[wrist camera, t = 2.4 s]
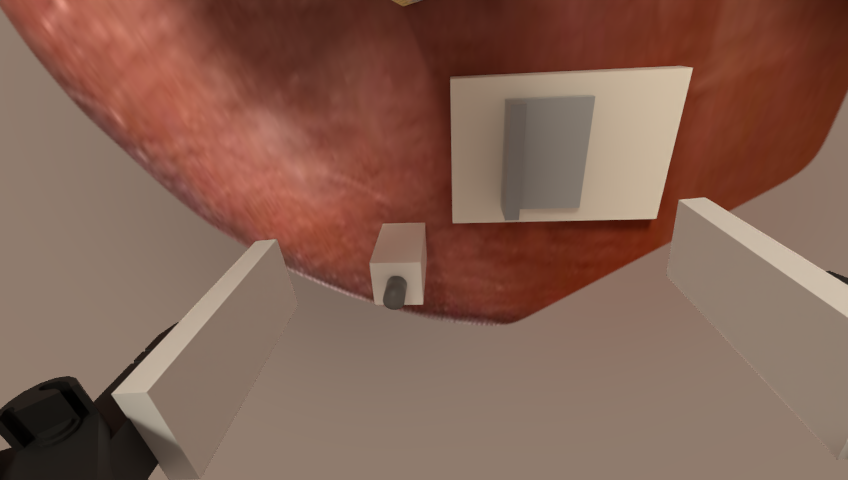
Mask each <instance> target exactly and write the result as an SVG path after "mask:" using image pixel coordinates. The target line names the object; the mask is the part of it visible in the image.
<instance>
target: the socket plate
mask: <svg viewBox="0 0 848 480" xmlns="http://www.w3.org/2000/svg"><path fill="white" fill-rule="evenodd" d="M692 70H693V68H691V67H684V66H668V67H647V68H625V69H604V70H582V71H561V72H539V73H518V74H496V75H475V76H453V77H450V102H451V164H452V221H453V223H492V222H537V221H583V220H628V219H656V218H657V214H658V210H659V205H660V201H661V197H662V193H663V189H664V185H665V181H666V177H667V172H668V168H669V164H670V160H671V156H672V152H673V148H674V144H675V140H676V135H677V131H678V127H679V123H680V119H681V115H682V111H683V107H684V103H685V98H686V94H687V90H688V86H689V82H690V78H691V74H692ZM579 95H593V96H595V103H594V110H593V117H592V124H591V131H590V138H589V145H588V152H587V158H586V165H585V172H584V179H583V186H582V193H581V200H580V207H579V208H550V209H520V213H519V220H506V221H505V219H504V216H503V213H502V210H501V206H500V205H501V183H502V160H503V138H504V115H505V99H509V98H532V97H556V96H579Z"/></svg>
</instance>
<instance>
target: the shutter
mask: <svg viewBox="0 0 848 480" xmlns="http://www.w3.org/2000/svg"><path fill="white" fill-rule="evenodd" d="M594 103H595V96H593V95H579V96H556V97H532V98H509V99H505V115H504V138H503V160H502V183H501V205H500V206H501V210H502V213H503V216H504V219H505V221H506V220H519V213H520V209H550V208H579V207H580V200H581V193H582V186H583V179H584V172H585V165H586V158H587V152H588V145H589V138H590V131H591V124H592V117H593V110H594Z"/></svg>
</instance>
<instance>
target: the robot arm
mask: <svg viewBox="0 0 848 480" xmlns="http://www.w3.org/2000/svg"><path fill="white" fill-rule="evenodd" d="M666 276H667V277H668V278H669V279H670V280H671V281H672V282H673V283H674V284H675V285H676V286H677V287H678V288H679V290H680V291H681V292H682V293H683V294H684V295H685V296H686V297H687V298H688V299H689V300H690V301H691V303H692V304H693V305H694V306H695V307H696V308H697V309H698V310H699V311H700V312H701V313H702V314H703V315H704V317H705V318H706V319H707V320H708V321H709V322H710V323H711V324H712V325H713V326H714V327H715V328H716V329H717V331H718V332H719V333H720V334H721V335H722V336H723V337H724V338H725V339H726V340H727V341H728V342H729V343H730V345H731V346H732V347H733V348H734V349H735V350H736V351H737V352H738V353H739V354H740V355H741V356H742V358H743V359H744V360H745V361H746V362H747V363H748V364H749V365H750V366H751V367H752V368H753V369H754V370H755V372H757V374H758V375H759V376H760V377H761V378H762V379H763V380H764V381H765V382H766V383H767V384H768V385H769V387H770V388H771V389H772V390H773V391H774V392H775V393H776V394H777V395H778V396H779V397H780V399H781V400H782V401H783V402H784V403H785V404H786V405H787V406H788V407H789V408H790V409H791V410H792V411H793V413H794V414H795V415H796V416H797V417H798V418H799V419H800V420H801V421H802V422H803V423H804V424H805V426H806V427H807V428H808V429H809V430H810V431H811V432H812V433H813V434H814V435H815V436H816V437H817V438H818V439H819V441H820V442H821V443H822V444H823V445H824V446H825V447H826V448H827V449H828V450H829V451H830V452H831V454H832V455H833V456H834V457H835V458H836V459H848V278H846V277H844V276H841V275H839V274H836V273H833V272H831V271H824V270H822V269H820V268H819V267H817V266H816V265H814V264H812V263H811V262H809V261H808V260H806V259H804V258H803V257H801V256H800V255H798V254H796V253H795V252H793V251H791V250H790V249H788V248H787V247H785V246H783V245H782V244H780V243H778V242H777V241H775V240H773V239H772V238H770V237H769V236H767V235H765V234H764V233H762V232H761V231H759V230H757V229H755V228H754V227H752V226H751V225H749V224H748V223H746V222H744V221H742V220H741V219H739V218H738V217H736V216H734V215H733V214H731V213H730V212H728V211H726V210H725V209H723V208H721V207H720V206H718V205H717V204H715V203H713V202H712V201H710V200H708V199H707V198H694V199H684V200H679V202H678V208H677V214H676V220H675V226H674V232H673V238H672V244H671V250H670V256H669V262H668V268H667V274H666ZM297 306H298V301H297V298H296V296H295V292H294V289H293V287H292V283H291V280H290V277H289V275H288V271H287V268H286V265H285V262H284V259H283V256H282V253H281V250H280V247H279V244H278V241H277V239H273V240H263V241H255V243H254V244H253V245H252V246H251V247H250V248H249V249H248V250H247V251H246V252H245V253H244V254H243V256H241V257H240V258H239V260H238V261H237V262H236V263H235V264H234V265H233V266H232V267H231V268H230V269H229V270H228V271H227V272H226V273H225V274H224V275H223V277H222V278H221V279H220V280H219V281H218V282H217V283H216V284H215V285H214V286H213V287H212V288H211V289H210V290H209V291H208V292H207V293H206V294H205V295H204V297H203V298H202V299H201V300H200V301H199V302H198V303H197V304H196V305H195V306H194V307H193V308H192V309H191V310H190V311H189V312H188V314H187V315H186V316H185V317H184V318H183V319H182V320H181V321H180V322H177V323H176V324H174V325H173V326H171V327H170V328H168V329H167V330H165V331H164V332H162V333H161V334H159V335H158V337H156V338H155V340H153V341H152V343H151V344H150V345H149V346H148V347H147V348H146V349H145V352H142V353H141V354H140V355H139V356H138V357H137V358H136V359H135V360H134V363H133V364H130V365H129V366H128V367H127V368H126V369H125V370H124V371H123V373H121V374H120V376H118V378H117V379H116V380H115V381H114V382H113V383H112V384H111V385H110V386H109V387H108V388H107V389H106V390H105V391H104V392H103V393H102V394H101V395H100V396H99V397H98V398H97V399H96V400H95V401H94V402H93V401H92V400H91V399H90V397H89V396H88V394H87V393H86V391H85V390H84V389H83V387H82V386H81V384H80V383H79V382H78V380H77V379H76V378H74V377H70V376H66V377H59V378H54V379H51V380H48V381H45V382H43V383H40V384H38V385H36V386H34V387H32V388H30V389H28V390H26V391H24V392H23V393H21V394H20V395H18V396H17V397H15V398H14V399H12V400H11V401H9V402H8V403H7V404H6V405H5V406H4V407H2V408H1V409H0V435H1V436H2V437H3V438H4V439H5V440H6V441H7V442H8V443H9V445H10V446H11V447H12V448H9V449H5V450H2V451H0V480H148V478H149V476H150V475H151V473H152V472H153V470H154V469H155V467H156V466H157V464H159V466H160V467H161V469H162V470H163V471H164V473H165V475H166V476H167V477H168V479H169V480H190V479H201V477H202V475H203V474H204V472H205V470H206V468H207V466H208V465H209V463H210V461H211V459H212V458H213V456H214V454H215V452H216V450H217V449H218V447H219V445H220V443H221V441H222V440H223V438H224V436H225V434H226V432H227V431H228V429H229V427H230V425H231V424H232V422H233V420H234V418H235V416H236V415H237V413H238V411H239V409H240V408H241V406H242V404H243V402H244V400H245V398H246V397H247V395H248V393H249V391H250V389H251V388H252V386H253V384H254V382H255V381H256V379H257V377H258V375H259V373H260V372H261V370H262V368H263V366H264V365H265V363H266V361H267V359H268V357H269V356H270V354H271V352H272V350H273V349H274V347H275V345H276V343H277V341H278V340H279V338H280V336H281V334H282V332H283V331H284V329H285V327H286V325H287V324H288V322H289V320H290V318H291V316H292V315H293V313H294V311H295V309H296V308H297Z"/></svg>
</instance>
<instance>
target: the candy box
mask: <svg viewBox="0 0 848 480" xmlns="http://www.w3.org/2000/svg"><path fill="white" fill-rule="evenodd" d="M392 1H394V2H396V3H397V4H399V5H401V6H406V5H409V4H412V3H415V2H418V1H421V0H392Z"/></svg>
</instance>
